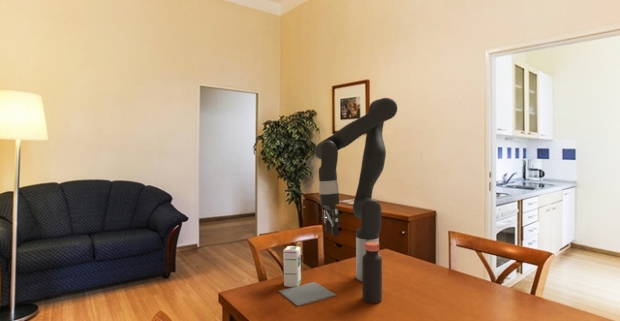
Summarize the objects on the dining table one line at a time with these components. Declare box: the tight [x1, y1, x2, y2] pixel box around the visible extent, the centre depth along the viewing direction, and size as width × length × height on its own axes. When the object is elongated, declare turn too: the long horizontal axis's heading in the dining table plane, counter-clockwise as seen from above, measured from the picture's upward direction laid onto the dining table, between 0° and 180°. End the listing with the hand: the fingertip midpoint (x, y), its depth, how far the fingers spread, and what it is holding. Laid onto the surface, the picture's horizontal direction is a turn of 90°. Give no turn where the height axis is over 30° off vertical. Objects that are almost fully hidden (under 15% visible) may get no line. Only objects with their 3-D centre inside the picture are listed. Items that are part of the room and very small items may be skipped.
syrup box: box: [282, 245, 302, 288], centre depth 133 cm, size 6×6×14 cm
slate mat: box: [278, 281, 336, 307], centre depth 124 cm, size 16×14×1 cm
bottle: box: [361, 242, 383, 304], centre depth 118 cm, size 7×7×20 cm
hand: (332, 234), depth 129 cm, fingers open, 8 cm apart
